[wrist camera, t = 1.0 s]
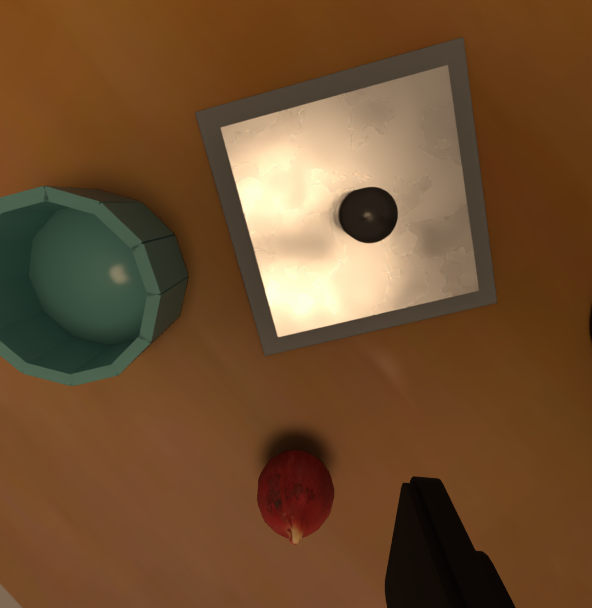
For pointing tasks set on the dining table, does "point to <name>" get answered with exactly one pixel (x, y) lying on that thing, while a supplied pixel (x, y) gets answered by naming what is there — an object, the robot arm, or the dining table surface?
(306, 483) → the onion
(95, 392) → the dining table surface
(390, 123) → the lid
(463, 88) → the mat
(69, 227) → the bowl
